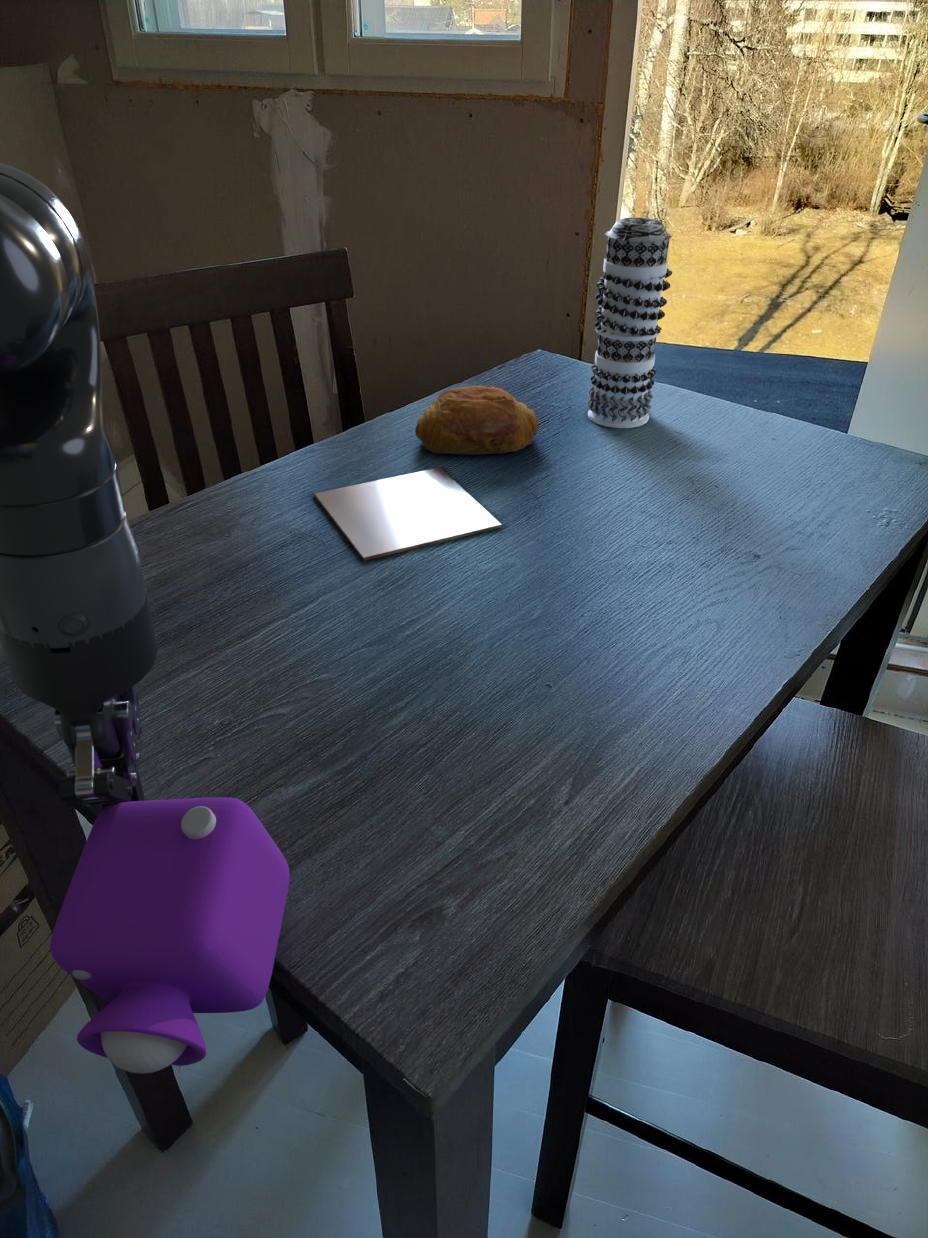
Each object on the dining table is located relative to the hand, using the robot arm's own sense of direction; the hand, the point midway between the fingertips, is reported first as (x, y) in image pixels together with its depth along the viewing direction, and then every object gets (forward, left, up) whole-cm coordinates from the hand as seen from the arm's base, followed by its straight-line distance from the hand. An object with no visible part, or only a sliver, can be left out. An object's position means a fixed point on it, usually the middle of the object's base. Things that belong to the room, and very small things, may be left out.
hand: (127, 816), depth 55 cm
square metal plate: (+24, +43, -3) cm, 50 cm away
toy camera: (+5, -9, -4) cm, 11 cm away
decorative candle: (+57, +65, -3) cm, 87 cm away
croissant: (+36, +61, -3) cm, 71 cm away
